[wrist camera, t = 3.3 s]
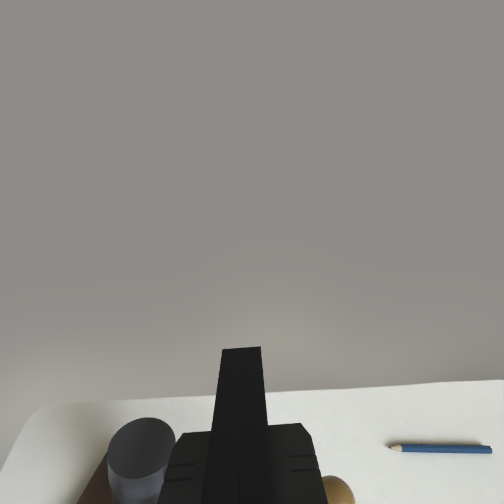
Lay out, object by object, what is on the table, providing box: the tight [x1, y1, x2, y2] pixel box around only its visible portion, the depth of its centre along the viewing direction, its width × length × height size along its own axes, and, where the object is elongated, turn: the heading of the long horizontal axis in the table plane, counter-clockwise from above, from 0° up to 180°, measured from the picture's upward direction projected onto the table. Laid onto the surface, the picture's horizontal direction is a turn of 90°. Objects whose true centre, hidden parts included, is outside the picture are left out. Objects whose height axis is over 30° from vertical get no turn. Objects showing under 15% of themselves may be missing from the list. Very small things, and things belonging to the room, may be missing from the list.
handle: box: [107, 417, 356, 504], centre depth 23 cm, size 18×5×3 cm, turn 82°
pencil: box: [389, 444, 492, 454], centre depth 42 cm, size 1×1×15 cm
